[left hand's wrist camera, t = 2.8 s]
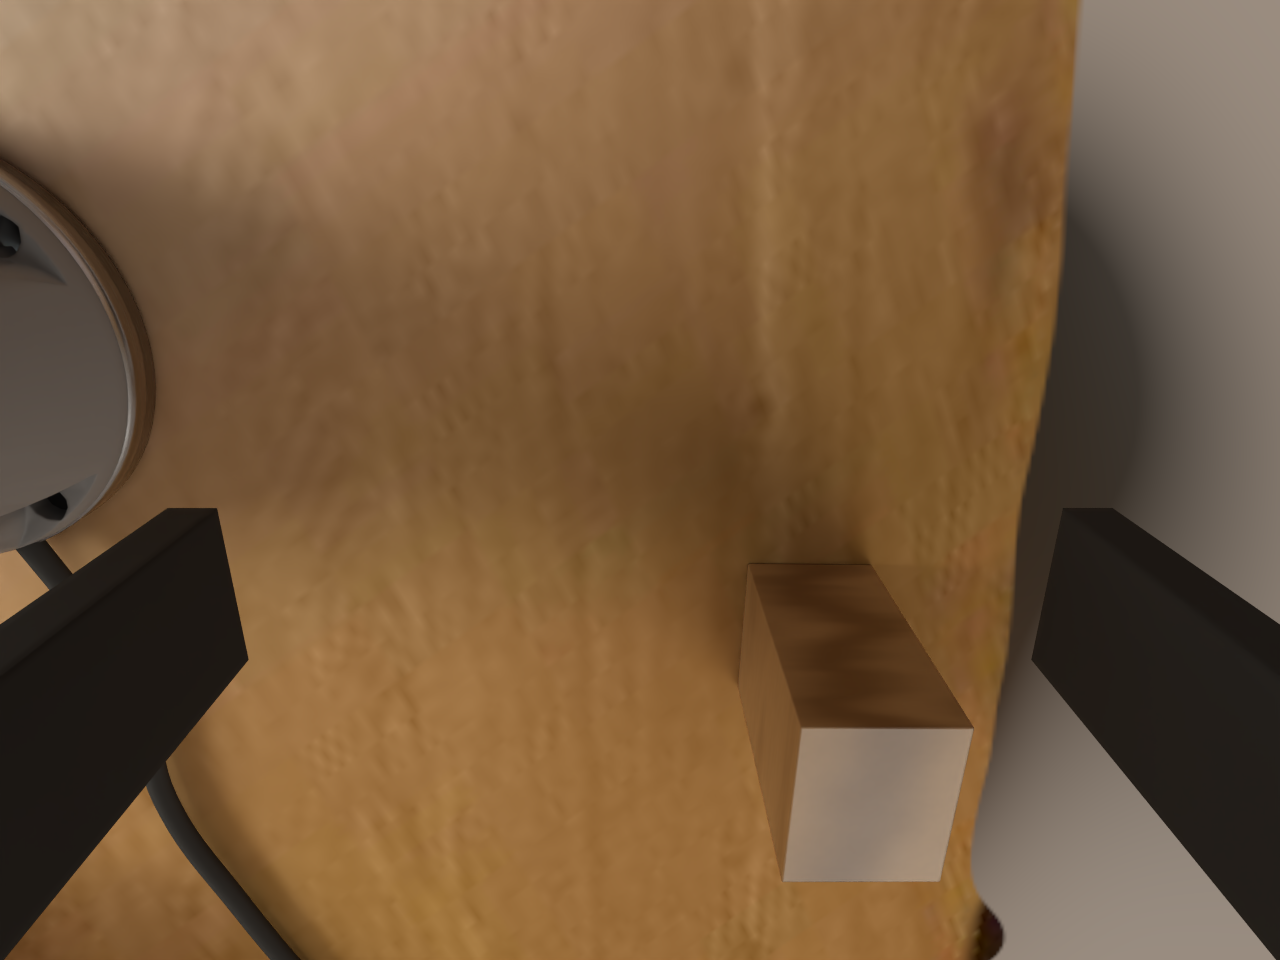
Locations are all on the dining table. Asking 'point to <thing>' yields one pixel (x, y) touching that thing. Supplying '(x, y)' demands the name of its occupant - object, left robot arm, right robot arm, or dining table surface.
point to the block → (847, 727)
